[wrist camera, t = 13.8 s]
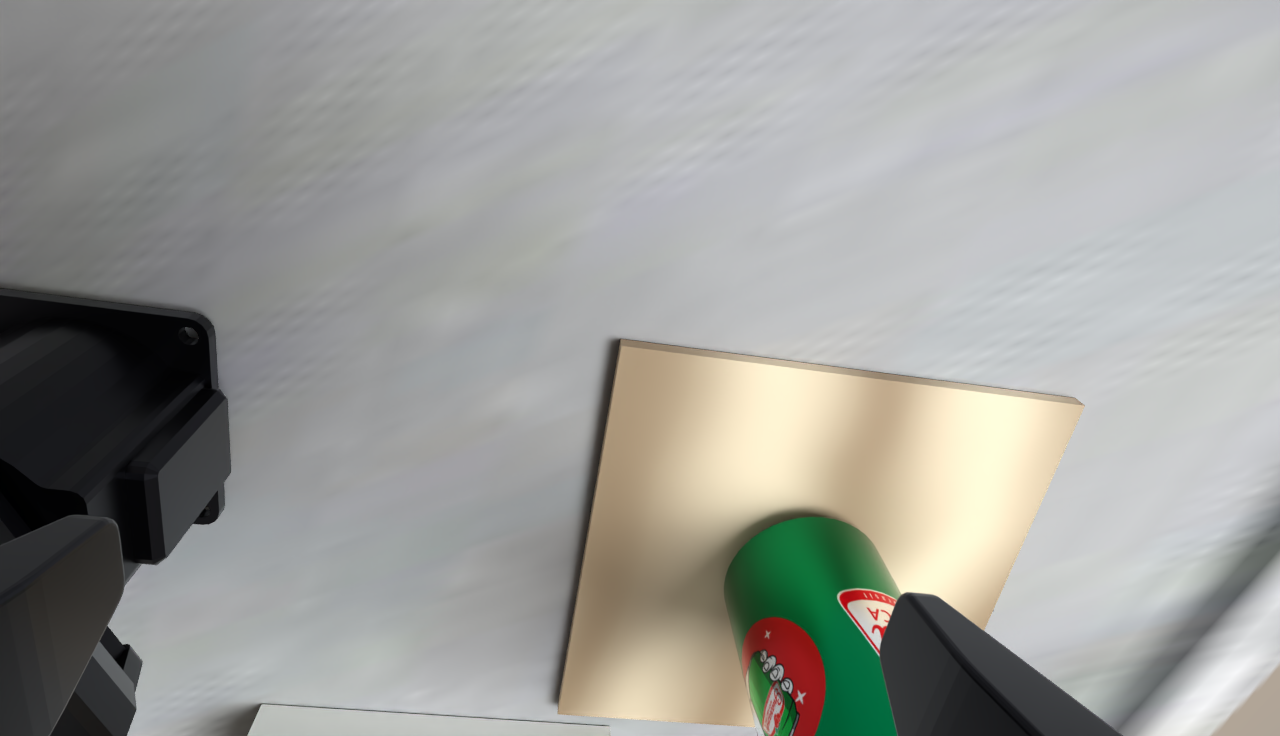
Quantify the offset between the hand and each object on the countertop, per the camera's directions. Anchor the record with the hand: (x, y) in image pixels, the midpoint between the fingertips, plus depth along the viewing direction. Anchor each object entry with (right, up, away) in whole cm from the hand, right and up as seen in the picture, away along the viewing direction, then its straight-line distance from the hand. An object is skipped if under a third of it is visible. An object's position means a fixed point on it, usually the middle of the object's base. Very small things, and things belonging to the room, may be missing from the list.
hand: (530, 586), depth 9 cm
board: (+6, -4, +17) cm, 18 cm away
